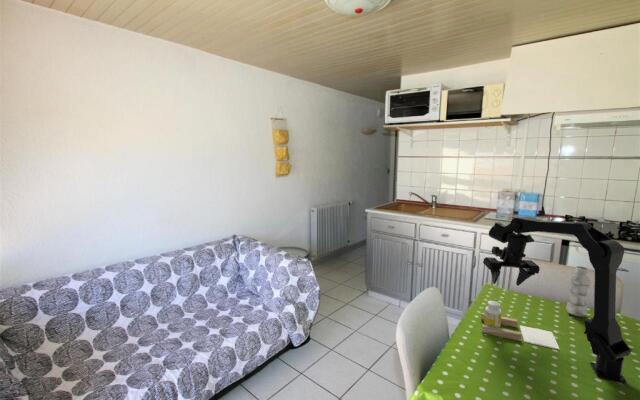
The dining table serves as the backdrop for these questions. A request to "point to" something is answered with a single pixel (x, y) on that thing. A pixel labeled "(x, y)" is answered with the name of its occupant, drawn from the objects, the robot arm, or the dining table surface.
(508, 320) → the wooden lane
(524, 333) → the white square plate
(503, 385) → the dining table surface
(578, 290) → the plastic bottle
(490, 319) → the supplement bottle
